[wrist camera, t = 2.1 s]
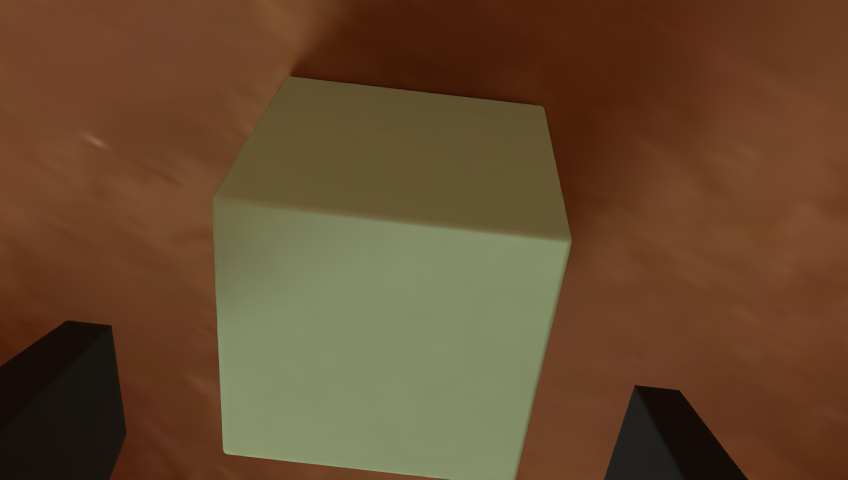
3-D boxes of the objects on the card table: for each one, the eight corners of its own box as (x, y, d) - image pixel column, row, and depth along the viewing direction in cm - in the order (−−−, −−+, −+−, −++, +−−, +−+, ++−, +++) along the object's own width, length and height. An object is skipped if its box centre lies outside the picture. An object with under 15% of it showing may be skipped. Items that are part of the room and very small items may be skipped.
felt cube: (545, 104, 15) (574, 238, 11) (504, 313, 17) (514, 489, 13) (285, 74, 15) (209, 196, 11) (283, 287, 17) (221, 456, 13)
